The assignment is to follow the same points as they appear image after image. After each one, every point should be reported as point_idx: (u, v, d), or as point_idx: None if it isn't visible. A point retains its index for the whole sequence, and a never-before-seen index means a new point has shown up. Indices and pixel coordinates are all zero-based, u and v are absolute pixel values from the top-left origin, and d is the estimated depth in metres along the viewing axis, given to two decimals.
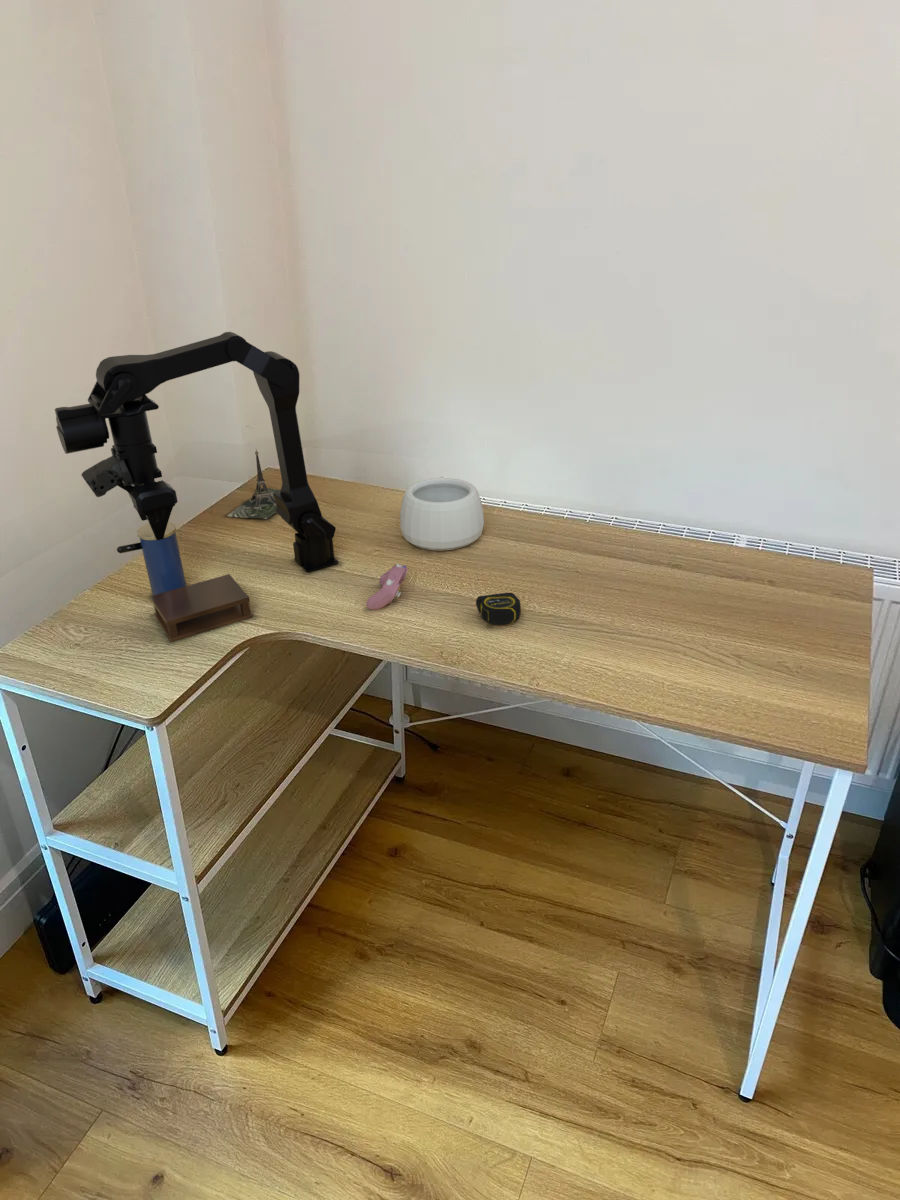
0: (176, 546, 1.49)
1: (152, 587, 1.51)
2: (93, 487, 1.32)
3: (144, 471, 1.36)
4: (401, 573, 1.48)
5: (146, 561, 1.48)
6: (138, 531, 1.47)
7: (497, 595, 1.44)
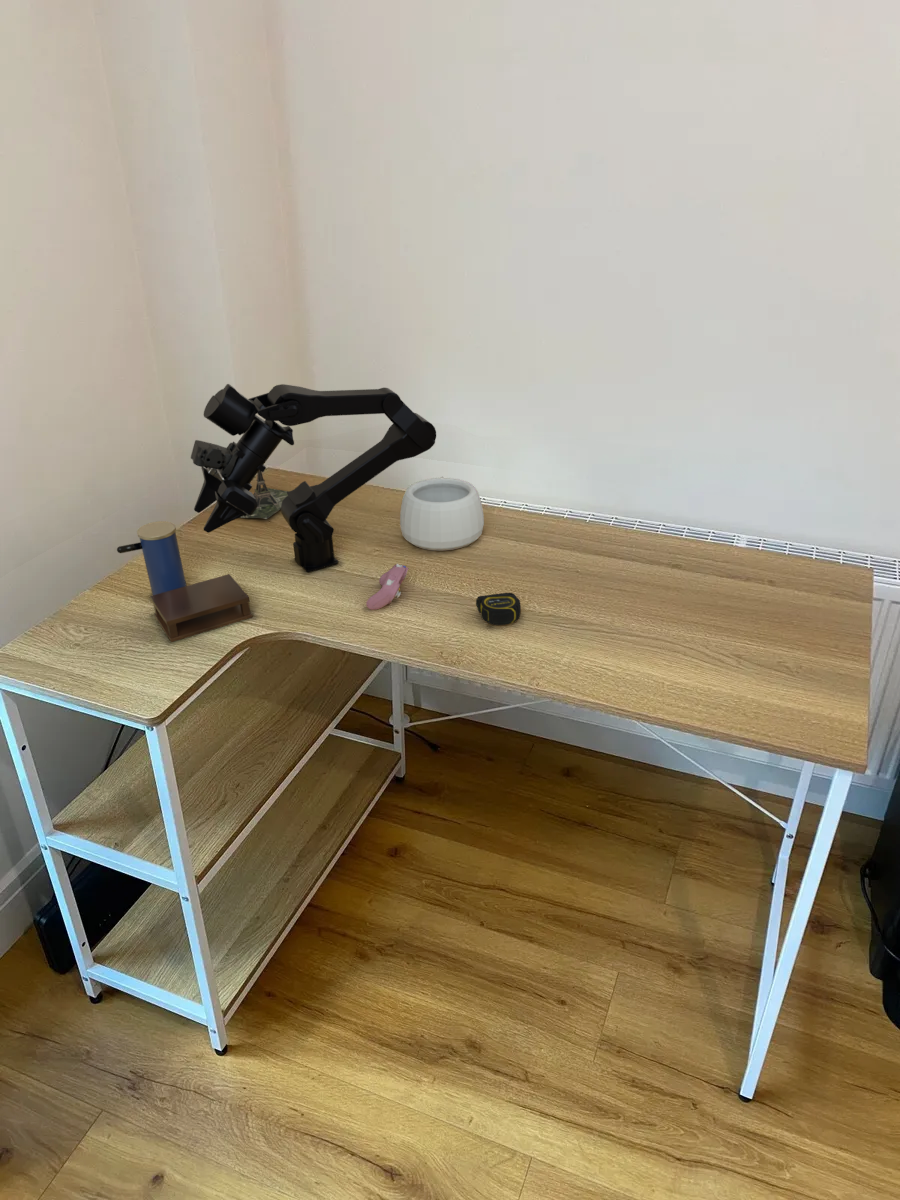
0: (176, 546, 1.49)
1: (152, 587, 1.51)
2: (201, 454, 1.42)
3: (242, 476, 1.47)
4: (401, 573, 1.48)
5: (146, 561, 1.48)
6: (138, 531, 1.47)
7: (497, 595, 1.44)
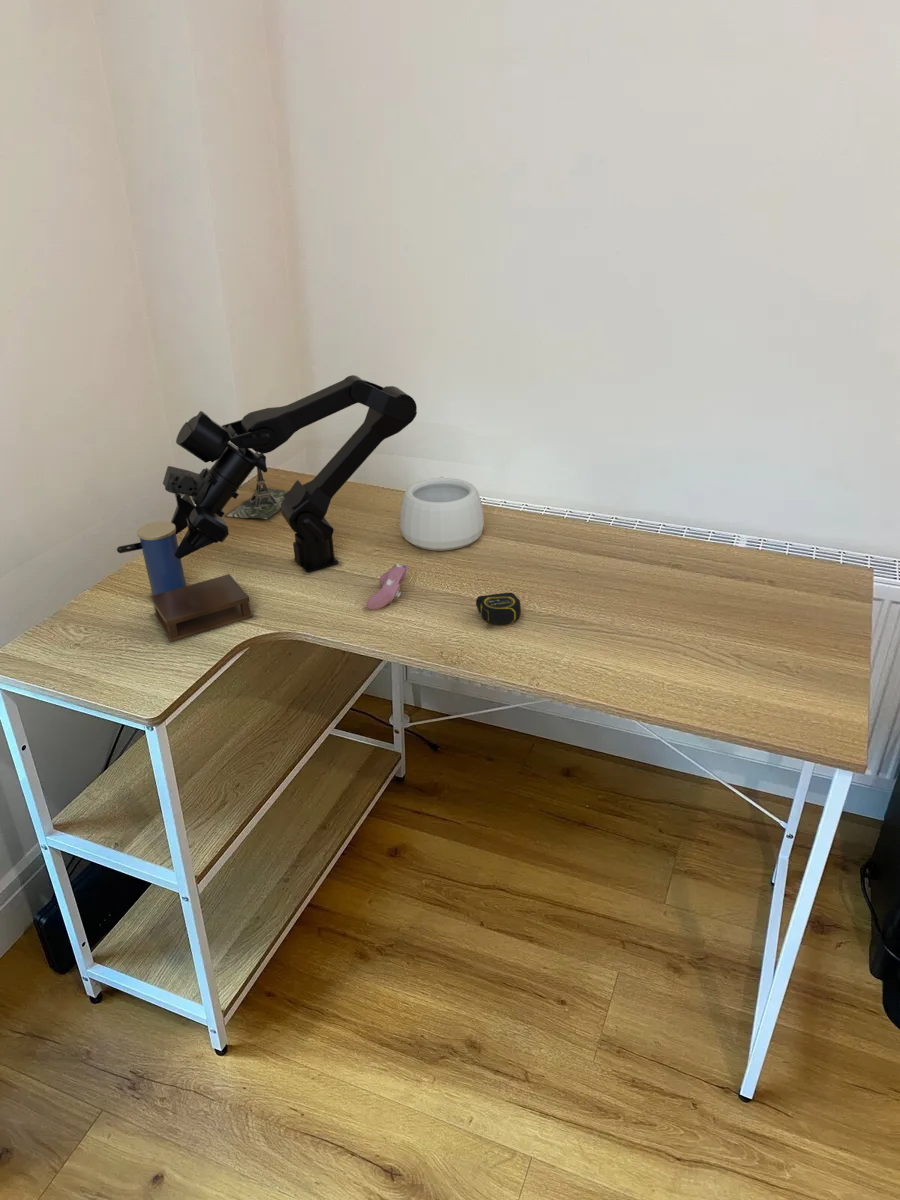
0: (176, 546, 1.49)
1: (152, 587, 1.51)
2: (173, 481, 1.42)
3: (215, 502, 1.47)
4: (401, 573, 1.48)
5: (146, 561, 1.48)
6: (138, 531, 1.47)
7: (497, 595, 1.44)
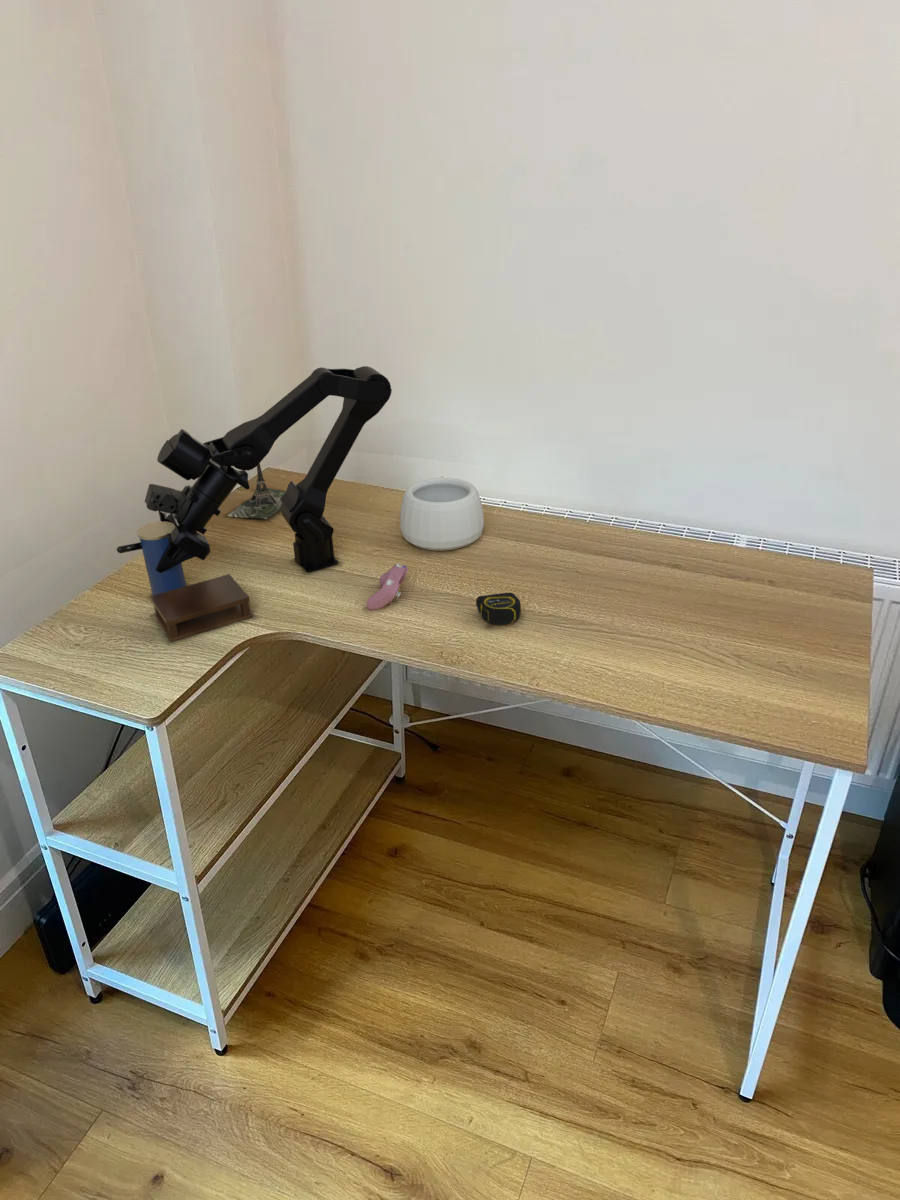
0: None
1: (152, 587, 1.51)
2: (154, 499, 1.42)
3: (197, 520, 1.47)
4: (401, 573, 1.48)
5: (146, 561, 1.48)
6: (138, 531, 1.47)
7: (497, 595, 1.44)
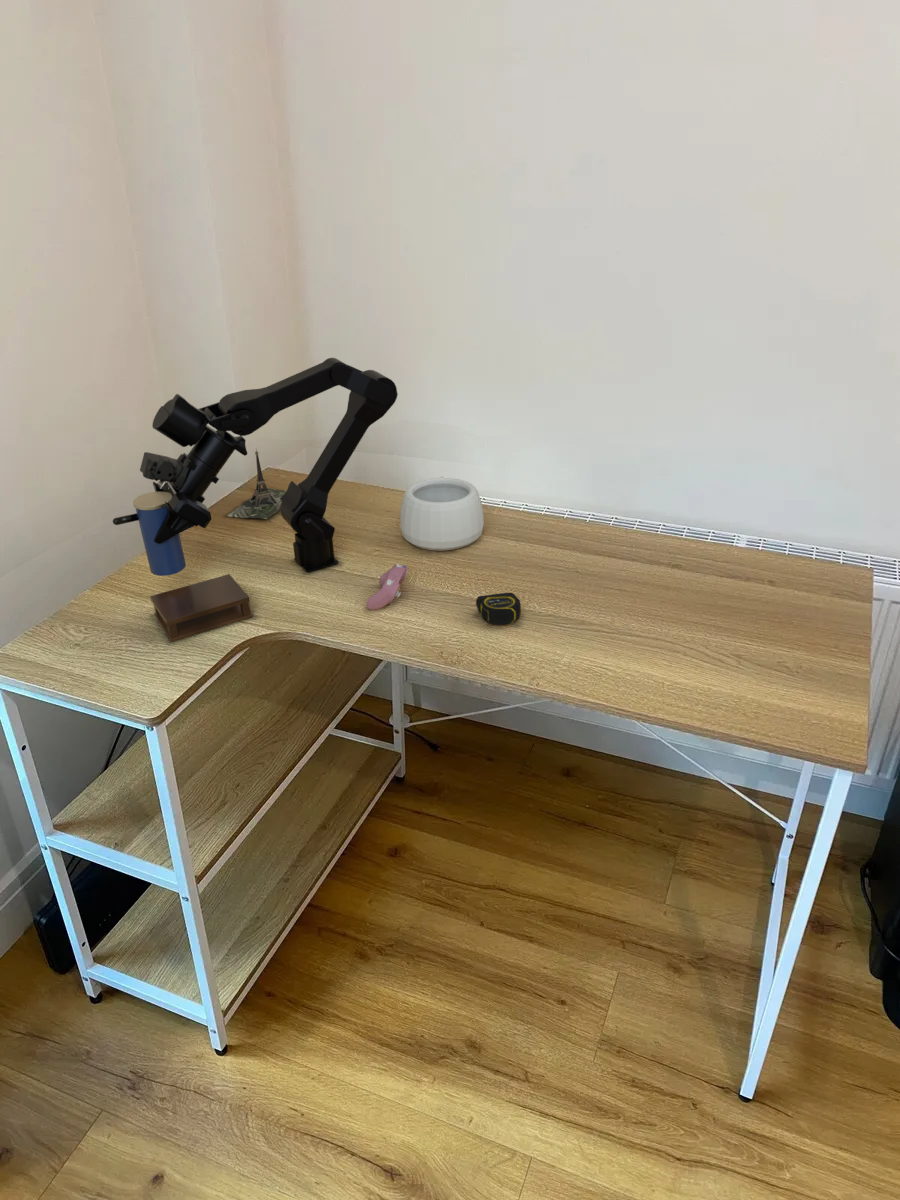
0: None
1: (150, 559, 1.46)
2: (151, 467, 1.38)
3: (195, 488, 1.43)
4: (401, 573, 1.48)
5: (143, 533, 1.44)
6: (134, 502, 1.43)
7: (497, 595, 1.44)
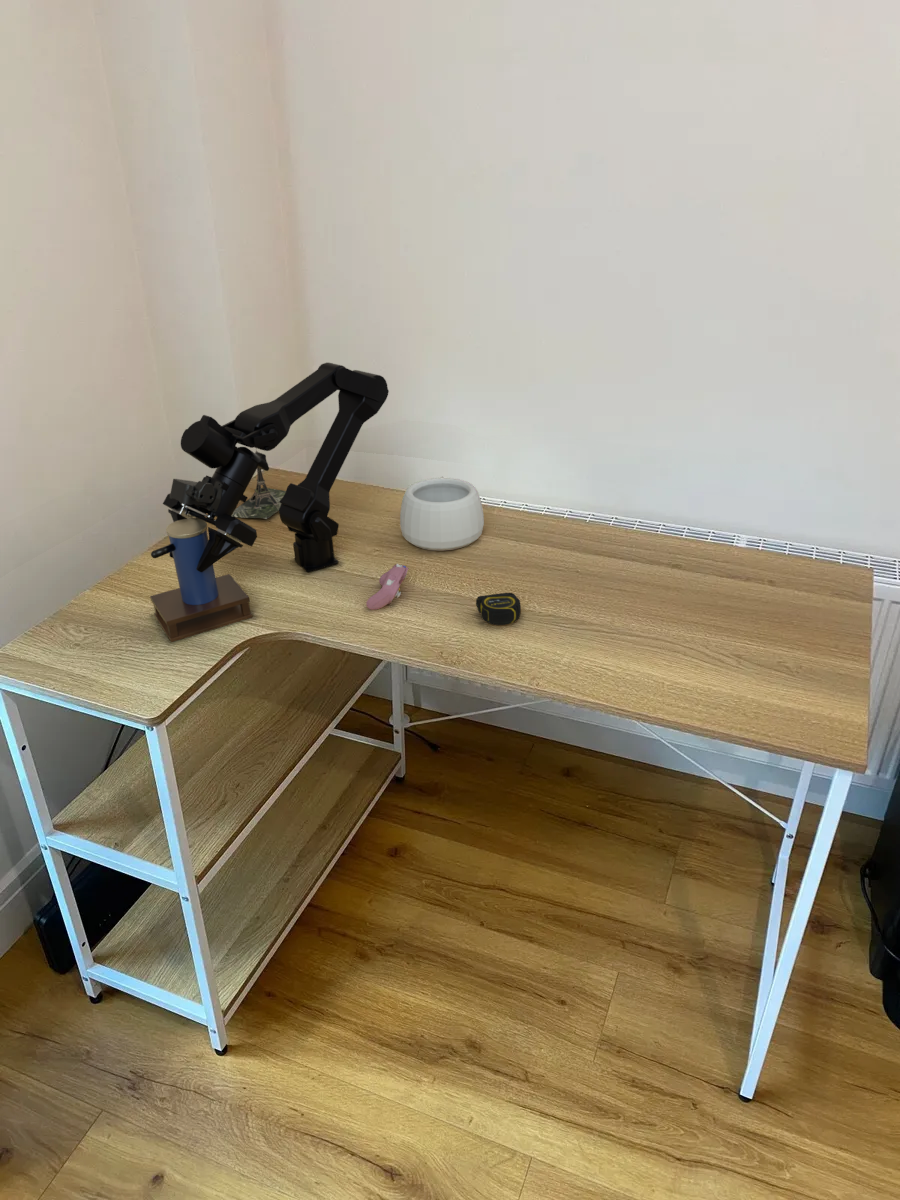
0: None
1: (188, 589, 1.41)
2: (192, 492, 1.34)
3: (228, 509, 1.41)
4: (401, 573, 1.48)
5: (181, 562, 1.39)
6: (169, 531, 1.37)
7: (497, 595, 1.44)
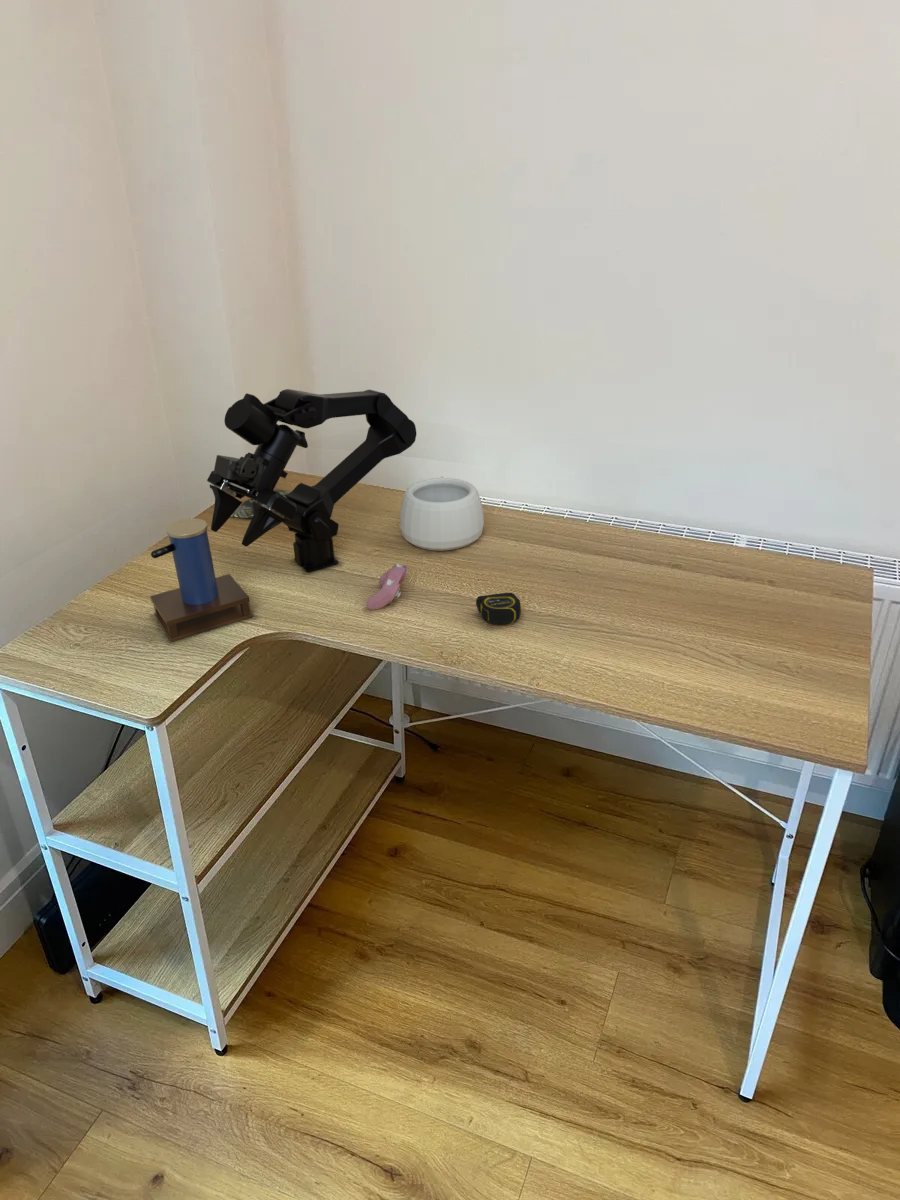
0: (208, 541, 1.41)
1: (188, 589, 1.41)
2: (235, 467, 1.39)
3: (269, 484, 1.46)
4: (401, 573, 1.48)
5: (181, 562, 1.39)
6: (169, 531, 1.37)
7: (497, 595, 1.44)
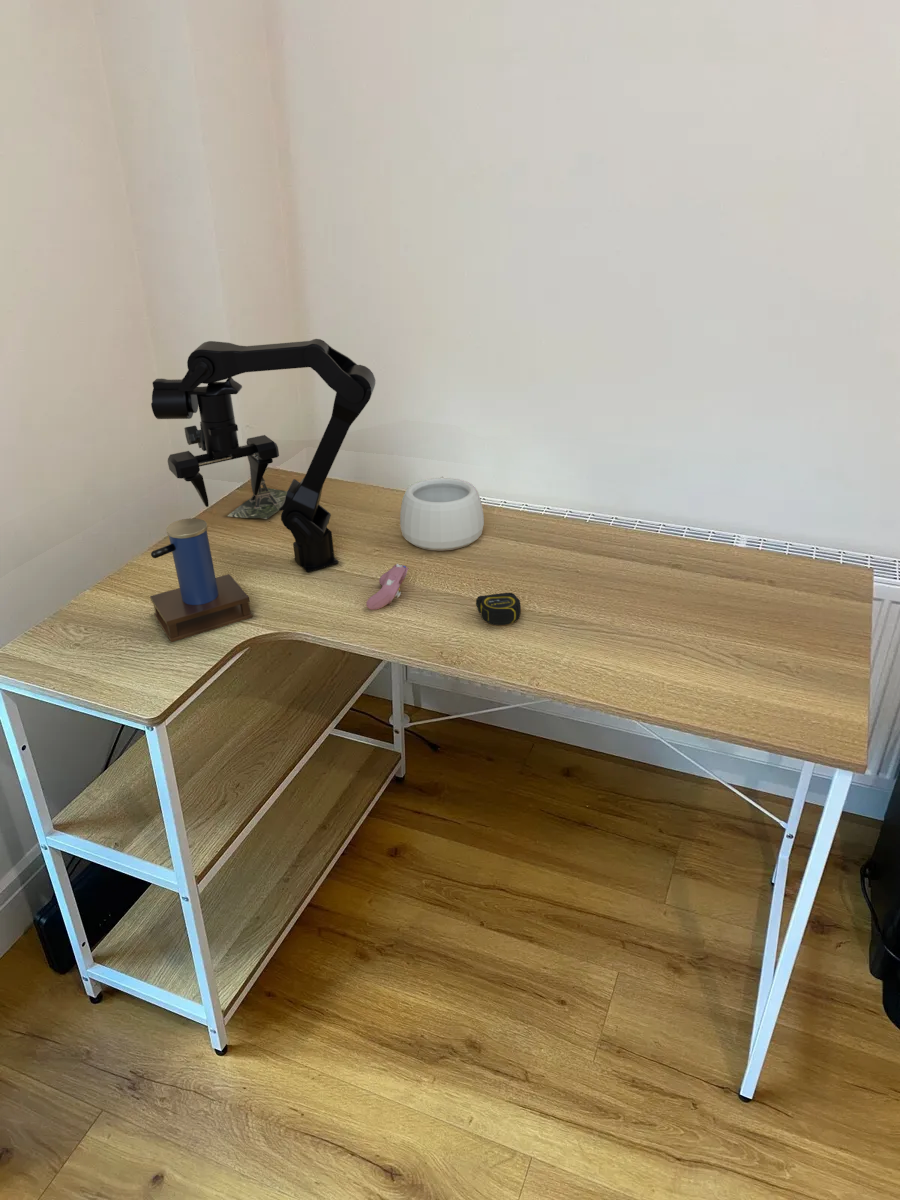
0: (208, 541, 1.41)
1: (188, 589, 1.41)
2: None
3: (206, 445, 1.51)
4: (401, 573, 1.48)
5: (181, 562, 1.39)
6: (169, 531, 1.37)
7: (497, 595, 1.44)
